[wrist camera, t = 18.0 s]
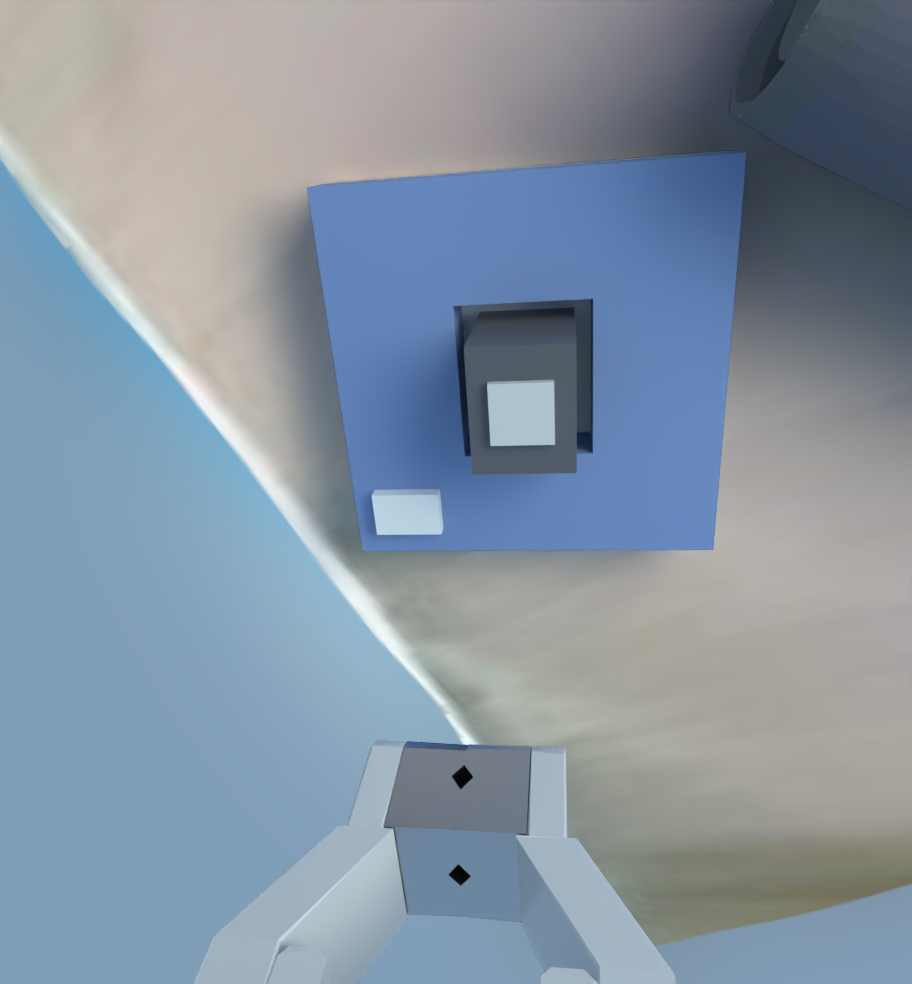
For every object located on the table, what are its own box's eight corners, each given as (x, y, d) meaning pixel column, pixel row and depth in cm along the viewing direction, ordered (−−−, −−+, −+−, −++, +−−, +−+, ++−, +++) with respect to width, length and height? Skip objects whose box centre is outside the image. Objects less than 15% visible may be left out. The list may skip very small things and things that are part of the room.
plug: (480, 311, 32) (462, 349, 26) (573, 307, 31) (576, 345, 25) (486, 420, 34) (471, 477, 28) (574, 418, 33) (576, 476, 28)
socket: (329, 183, 31) (301, 188, 27) (729, 150, 28) (750, 152, 25) (376, 521, 37) (359, 557, 34) (701, 518, 35) (715, 556, 32)
